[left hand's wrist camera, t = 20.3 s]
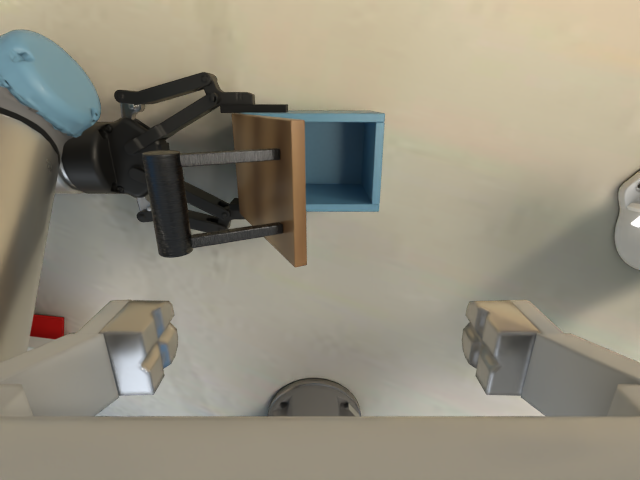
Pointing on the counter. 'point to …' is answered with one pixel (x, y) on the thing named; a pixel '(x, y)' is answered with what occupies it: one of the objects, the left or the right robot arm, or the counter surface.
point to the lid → (253, 188)
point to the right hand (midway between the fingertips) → (288, 158)
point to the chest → (341, 159)
